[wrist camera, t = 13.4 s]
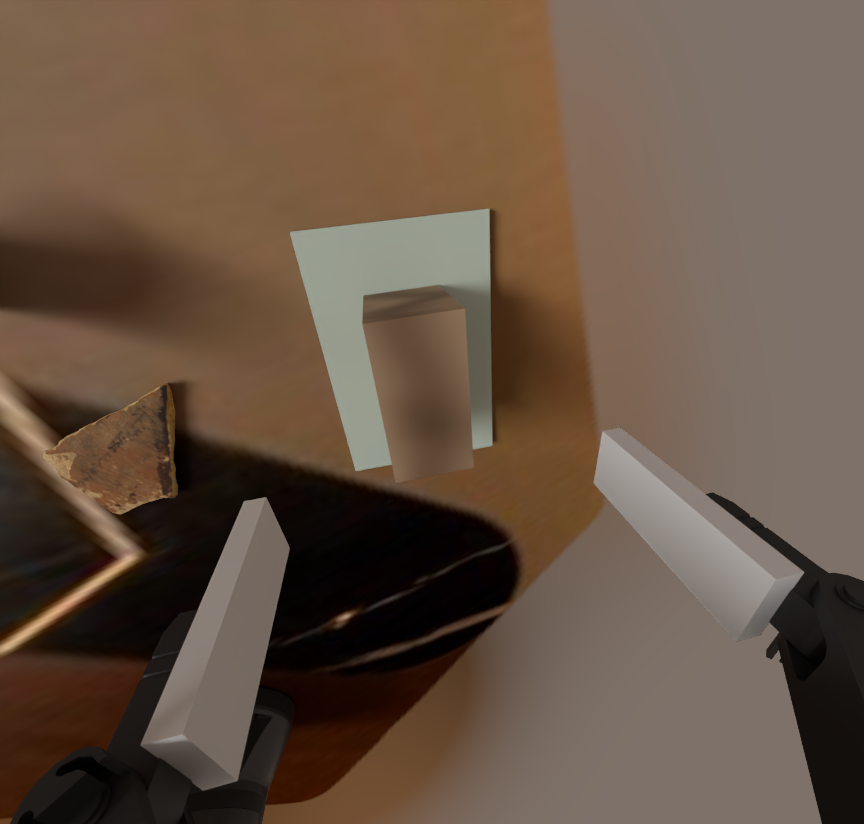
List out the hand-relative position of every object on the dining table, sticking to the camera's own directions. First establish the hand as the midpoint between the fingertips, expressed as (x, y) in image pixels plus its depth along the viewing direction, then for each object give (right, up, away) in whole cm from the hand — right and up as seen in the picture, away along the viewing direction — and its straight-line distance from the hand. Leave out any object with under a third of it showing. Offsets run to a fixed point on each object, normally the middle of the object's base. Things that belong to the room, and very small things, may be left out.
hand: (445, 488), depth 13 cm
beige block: (-2, +7, +11) cm, 13 cm away
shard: (-24, +1, +12) cm, 27 cm away
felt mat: (-2, +7, +12) cm, 14 cm away
